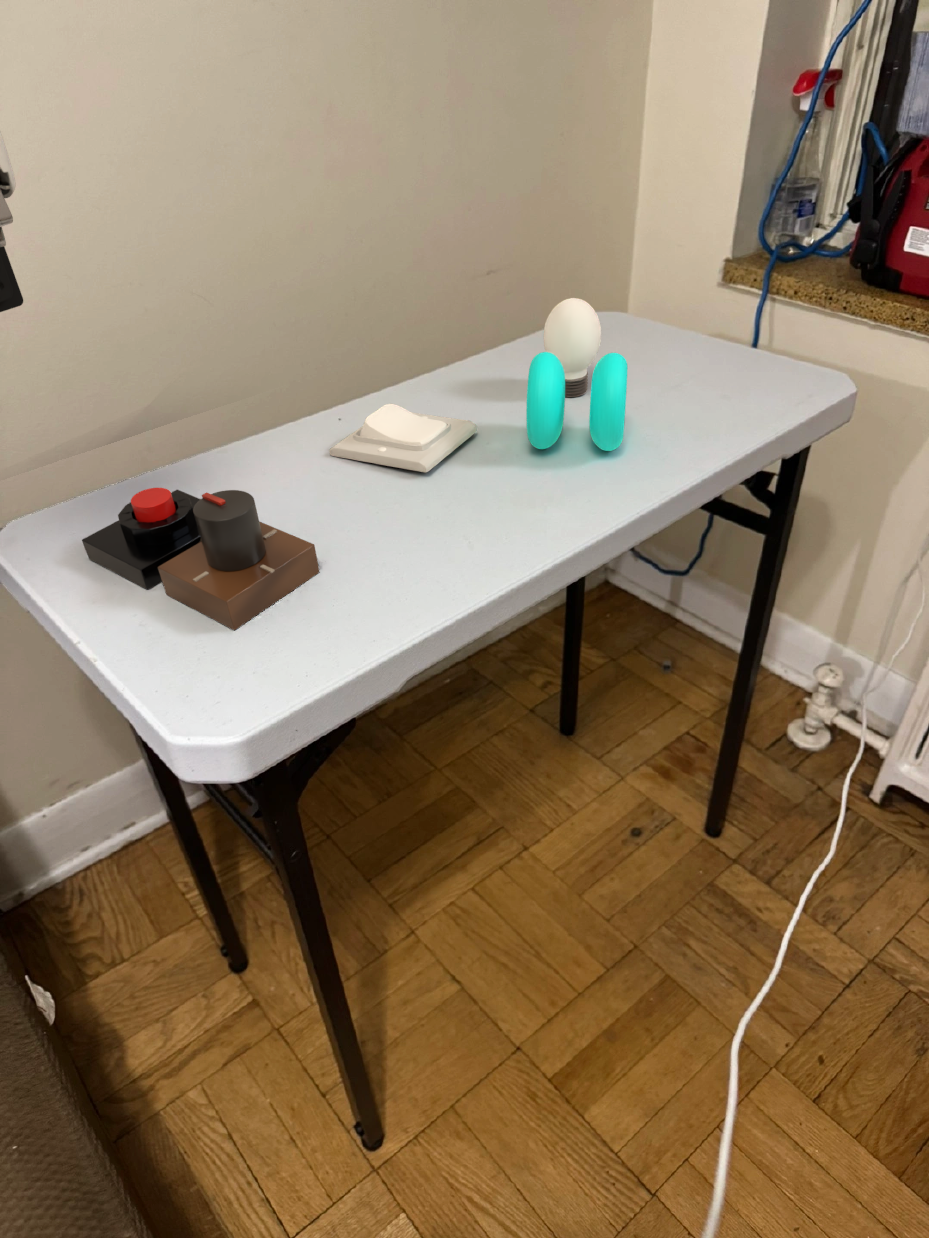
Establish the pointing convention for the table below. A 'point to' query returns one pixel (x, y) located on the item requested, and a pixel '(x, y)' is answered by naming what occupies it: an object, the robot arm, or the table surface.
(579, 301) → the light bulb
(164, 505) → the power button
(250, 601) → the dimmer panel
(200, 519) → the dimmer knob
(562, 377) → the donuts
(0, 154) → the robot arm
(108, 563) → the switch block
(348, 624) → the table surface
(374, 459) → the light switch
